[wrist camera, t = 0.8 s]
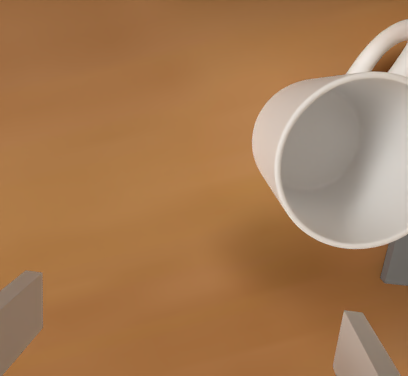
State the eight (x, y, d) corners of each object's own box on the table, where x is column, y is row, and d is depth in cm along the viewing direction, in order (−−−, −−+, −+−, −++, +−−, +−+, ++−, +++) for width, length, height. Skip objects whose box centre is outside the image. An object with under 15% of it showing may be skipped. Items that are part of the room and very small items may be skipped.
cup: (230, 162, 27) (242, 202, 17) (316, 5, 24) (388, -54, 15) (325, 212, 28) (389, 276, 18) (419, 65, 25) (552, 48, 16)
